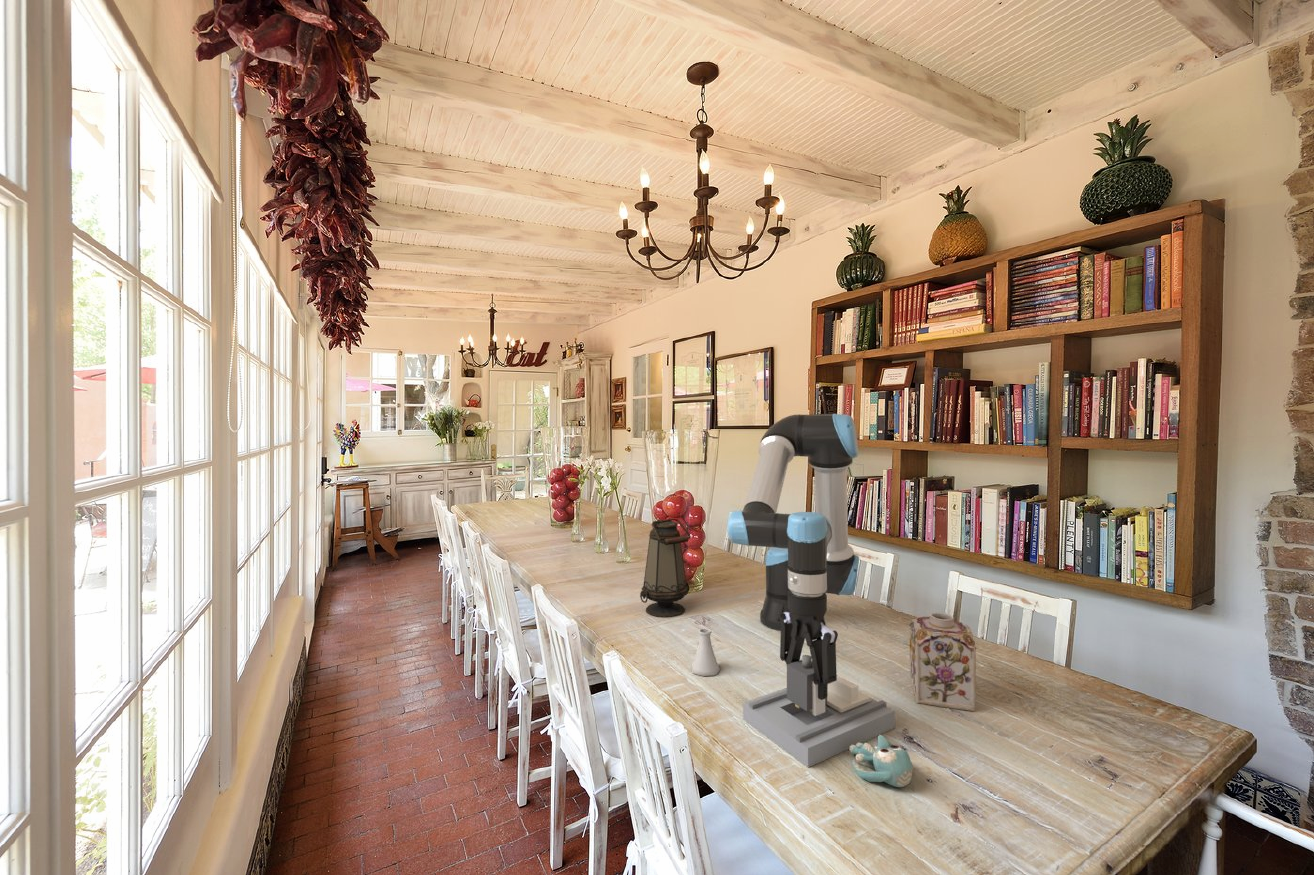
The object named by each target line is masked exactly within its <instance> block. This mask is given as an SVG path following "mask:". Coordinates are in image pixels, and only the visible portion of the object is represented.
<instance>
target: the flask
mask: <svg viewBox="0 0 1314 875" xmlns="http://www.w3.org/2000/svg"><path fill="white" fill-rule="evenodd" d="M698 633H699V642H698V646H697V649H696V652H695V655H694V658H693V660H692V664H691V665H690V666H691V667H690V670H691V671H692V674H695V675H698V676H703V677H706V676H707V677H708V676H709V677H711V676H717V674H719V672H720V671H721V670H720V666H719V664H718V661H717V659H716V658H717V657H716V656H715V652H714V649H713V645H712V640H711V634H712V629H711V628H706V627H705V628H704V627H702V628H700V629H698Z"/></svg>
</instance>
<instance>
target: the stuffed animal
mask: <svg viewBox="0 0 1314 875" xmlns="http://www.w3.org/2000/svg"><path fill="white" fill-rule="evenodd" d="M848 750H849V753H851V754H853V755H855V759H854V758H853V759H852V761H851V766H852V768H853V770H854V772H855V773H856V774H857V775H858V776H859V778H861V779H863V780H865V781H867V782H868V783H882V782H885V783H886V784H888V785H889V786H892V787H896V788H903V787H906V786H907V785H908V784H910V782H911V781H912V776H913V770H914V769H913V762H912V761H911V760H912V759H911V757H910V755H909V753H908V752H907V751H906V750H904V749H903V748H902V747H900V746H898V745H897V744H896V745H894V744H893V743H891V742H890V741H889V740H888V739H887V738H886V737H885V736H884V735H882V734H880V735H878V736H877V746H874V747H873V746H872V745H871V744H870V743H867V742H863V743H859V742H858V743H857V744H856V745H851V746H850V749H848ZM862 763H869V764H870V763H871V764H873V768H874V770H873V769H871V768H870V767H868V766H866V765H863V764H862Z"/></svg>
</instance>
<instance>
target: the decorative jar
mask: <svg viewBox="0 0 1314 875" xmlns="http://www.w3.org/2000/svg"><path fill="white" fill-rule="evenodd" d="M909 627H910V628H909V677H910V678H909V679H910V682H911V687H912V690H913V695H914V699H915V702H916V704H921V705H926V706H927V705H929V706H934V707H941V708H949V709H954V710H963V711H969V712H974V711H975V710H976V700H977V699H976V698H977V697H976V693H977V690H976V689H977V658H976V656H977V653H976V650H977V647H976V642H975V639H974V635H973V632H972V630H971V628H970V627H969V626H968V624H966V623H963V622H961V621H958V620H955V618H954V616H953V615H951V614H948V613H947V612H946V613H945V612H940V611H939V612H931V613H930V615H927V616H921V617H919V616H918V617H917V618H913V619H911V622H910V624H909Z"/></svg>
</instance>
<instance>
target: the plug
mask: <svg viewBox="0 0 1314 875" xmlns="http://www.w3.org/2000/svg"><path fill="white" fill-rule="evenodd" d="M815 680H816V678H815V673H814V668H813V663H812V658H811V655H810V654H803V655H801V659H800V661H796V662H793V663H790V664H787V665H786V688H787V699H788V700H790V701H791V702H793V703H794V704H795V706H796V707H798V708H802V709H804V710H806V711H811V712H812V709H813V681H815ZM825 704H827V698H826V699H825Z"/></svg>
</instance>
